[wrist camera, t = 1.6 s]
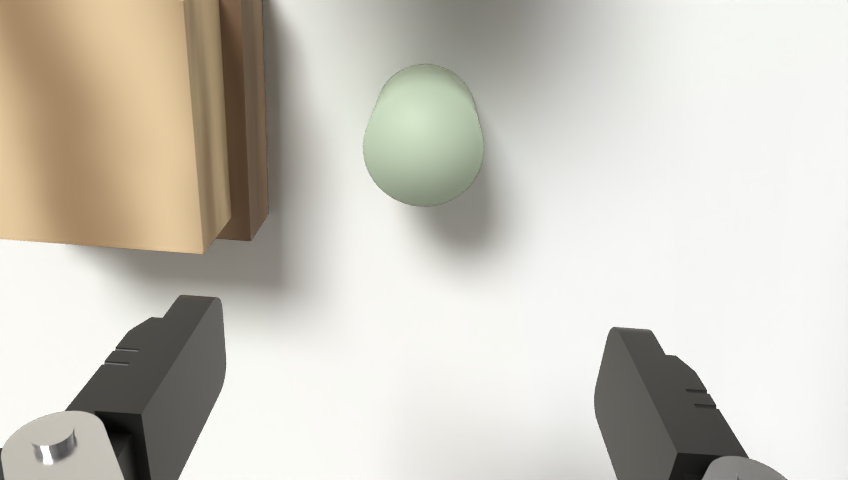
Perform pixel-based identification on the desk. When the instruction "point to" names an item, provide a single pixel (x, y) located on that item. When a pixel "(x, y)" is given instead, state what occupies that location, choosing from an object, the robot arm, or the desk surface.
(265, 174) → the walnut base block
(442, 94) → the green capsule
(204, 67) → the oak top block
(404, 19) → the desk surface
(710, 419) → the robot arm
